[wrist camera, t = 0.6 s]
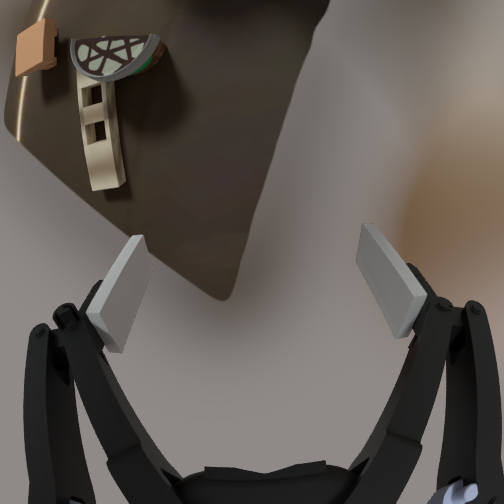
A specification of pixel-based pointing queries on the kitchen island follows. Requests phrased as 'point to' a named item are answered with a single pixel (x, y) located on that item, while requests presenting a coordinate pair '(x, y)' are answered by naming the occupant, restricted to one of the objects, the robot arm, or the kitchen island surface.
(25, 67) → the tan toy stool
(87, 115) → the rail
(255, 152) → the kitchen island surface
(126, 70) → the grey green half-round piece
